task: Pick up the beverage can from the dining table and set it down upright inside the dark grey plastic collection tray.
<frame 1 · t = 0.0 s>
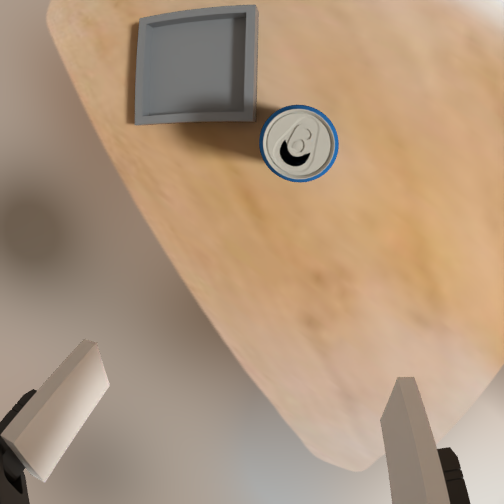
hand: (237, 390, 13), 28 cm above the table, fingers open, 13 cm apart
beverage can: (299, 140, 35), on the table
tray: (198, 66, 33), on the table
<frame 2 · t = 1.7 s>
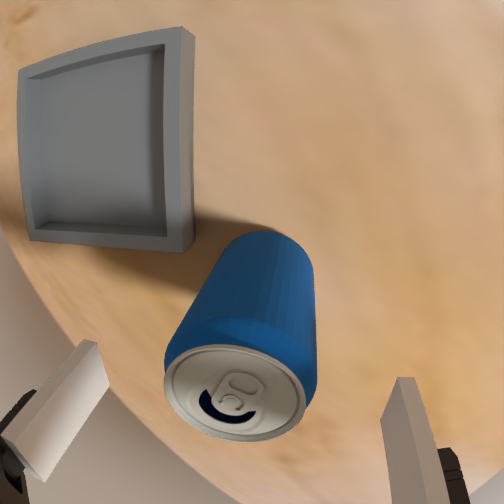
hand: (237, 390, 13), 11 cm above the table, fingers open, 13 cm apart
beverage can: (266, 270, 23), on the table
tray: (103, 143, 21), on the table
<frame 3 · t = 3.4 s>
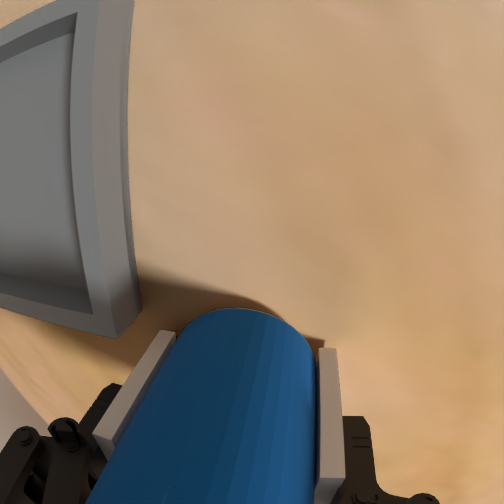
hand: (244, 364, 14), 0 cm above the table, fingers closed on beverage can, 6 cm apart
beverage can: (247, 355, 15), on the table, touching gripper
tray: (19, 167, 13), on the table
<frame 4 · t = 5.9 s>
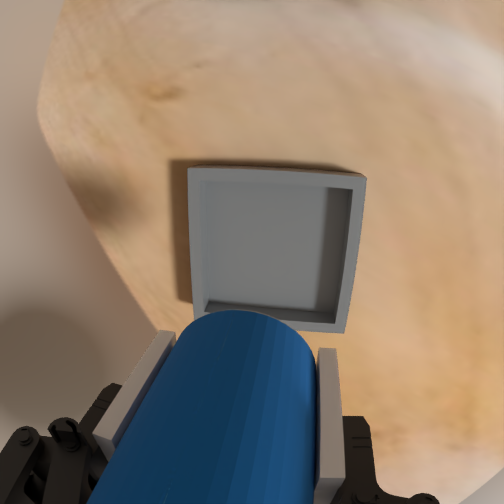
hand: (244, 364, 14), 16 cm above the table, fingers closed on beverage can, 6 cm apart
beverage can: (247, 357, 15), point 15 cm above the table, touching gripper
tray: (274, 246, 29), on the table
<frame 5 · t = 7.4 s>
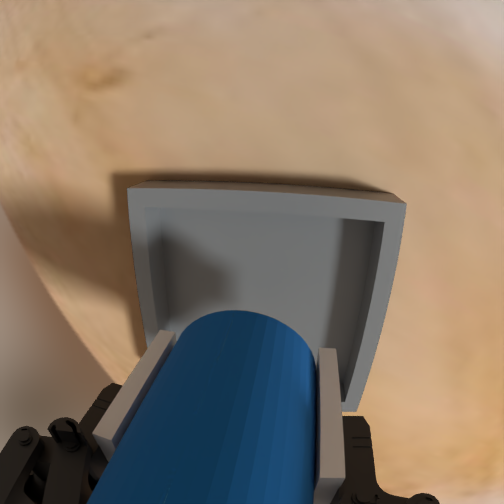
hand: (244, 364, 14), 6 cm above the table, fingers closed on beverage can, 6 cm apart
beverage can: (247, 357, 15), point 5 cm above the table, touching gripper
tray: (262, 298, 20), on the table
when the fingers open (3 cm above the table, at t = 8.5 s): beverage can drops 2 cm, resting on tray.
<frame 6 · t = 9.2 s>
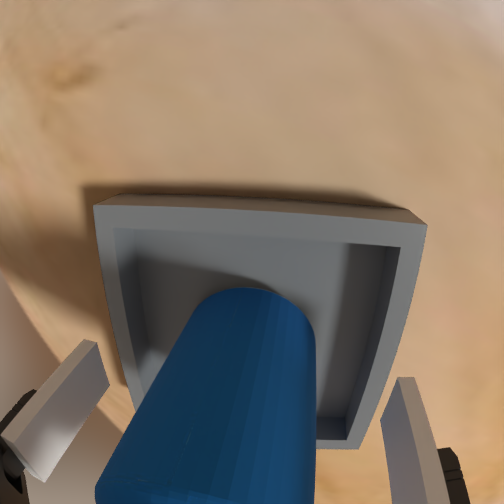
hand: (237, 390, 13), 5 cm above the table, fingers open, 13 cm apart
beverage can: (252, 333, 17), resting on tray
tray: (253, 329, 17), on the table
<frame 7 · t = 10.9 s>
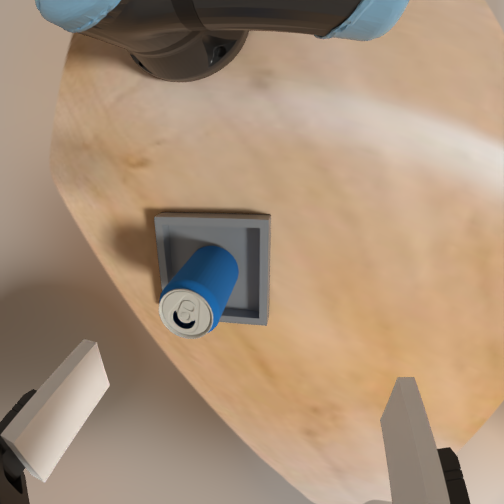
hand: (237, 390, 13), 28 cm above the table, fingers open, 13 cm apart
beverage can: (215, 266, 42), resting on tray
tray: (216, 265, 42), on the table
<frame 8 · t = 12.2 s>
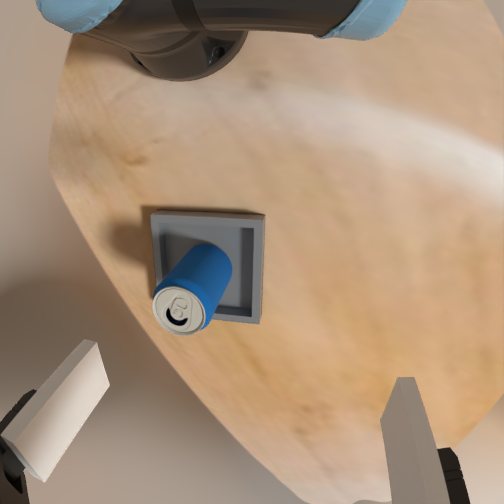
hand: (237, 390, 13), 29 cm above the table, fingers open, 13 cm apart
beverage can: (209, 264, 42), resting on tray
tray: (210, 263, 43), on the table
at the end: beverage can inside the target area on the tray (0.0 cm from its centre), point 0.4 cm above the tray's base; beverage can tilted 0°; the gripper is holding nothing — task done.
